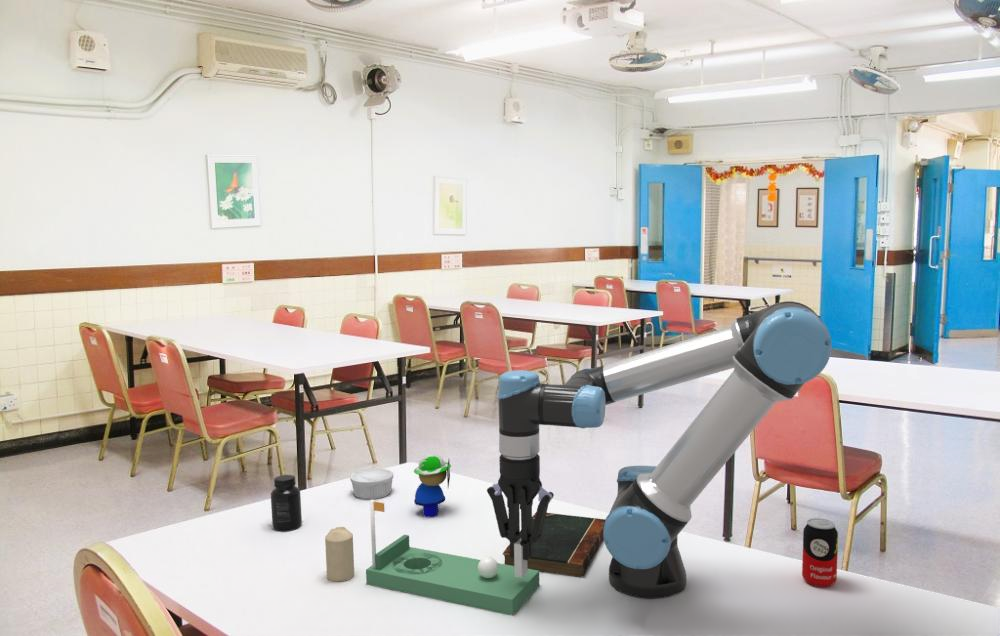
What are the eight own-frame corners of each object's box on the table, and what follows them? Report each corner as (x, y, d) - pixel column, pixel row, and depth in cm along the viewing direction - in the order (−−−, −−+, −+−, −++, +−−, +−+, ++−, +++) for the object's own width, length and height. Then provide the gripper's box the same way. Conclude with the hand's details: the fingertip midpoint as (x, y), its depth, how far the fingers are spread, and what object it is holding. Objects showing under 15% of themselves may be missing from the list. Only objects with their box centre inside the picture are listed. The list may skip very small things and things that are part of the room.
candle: (348, 583, 161) (346, 535, 159) (322, 580, 162) (320, 533, 160) (358, 571, 166) (356, 524, 165) (333, 569, 167) (331, 523, 166)
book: (536, 525, 190) (501, 569, 167) (536, 510, 190) (501, 552, 166) (608, 533, 184) (583, 580, 161) (608, 518, 184) (583, 563, 161)
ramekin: (345, 500, 208) (344, 480, 207) (359, 486, 219) (358, 467, 218) (386, 502, 206) (385, 482, 206) (399, 487, 217) (398, 469, 216)
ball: (502, 574, 156) (501, 555, 156) (493, 583, 153) (492, 563, 152) (483, 571, 158) (483, 551, 157) (474, 579, 154) (474, 559, 154)
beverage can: (794, 578, 159) (796, 520, 158) (819, 572, 162) (821, 515, 160) (818, 591, 153) (821, 531, 152) (843, 585, 156) (845, 526, 154)
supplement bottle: (308, 524, 192) (305, 475, 190) (286, 534, 186) (283, 484, 185) (288, 518, 196) (285, 471, 194) (266, 528, 190) (263, 479, 188)
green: (539, 585, 158) (538, 502, 156) (512, 615, 146) (510, 525, 144) (401, 558, 172) (398, 481, 169) (366, 583, 160) (363, 502, 158)
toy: (450, 519, 193) (449, 459, 191) (412, 519, 194) (410, 459, 192) (453, 506, 202) (451, 448, 200) (416, 506, 202) (415, 449, 200)
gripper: (559, 452, 150) (560, 572, 153) (496, 444, 155) (498, 560, 158) (544, 463, 143) (545, 589, 146) (479, 455, 148) (481, 576, 151)
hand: (521, 574), depth 152 cm, fingers closed
